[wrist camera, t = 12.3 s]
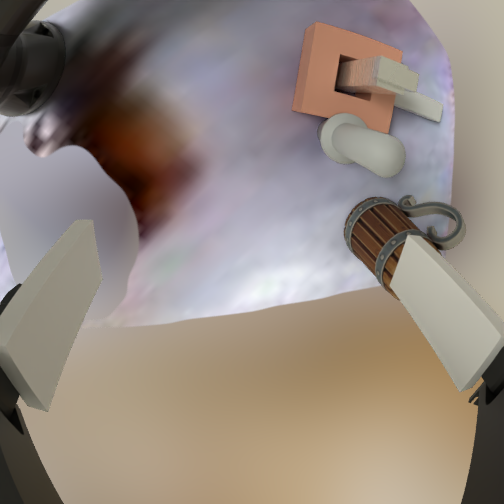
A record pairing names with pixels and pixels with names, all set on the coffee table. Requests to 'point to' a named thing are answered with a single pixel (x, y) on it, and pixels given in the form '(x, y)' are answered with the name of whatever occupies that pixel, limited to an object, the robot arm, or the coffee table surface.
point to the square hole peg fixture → (353, 101)
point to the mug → (394, 232)
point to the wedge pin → (376, 76)
